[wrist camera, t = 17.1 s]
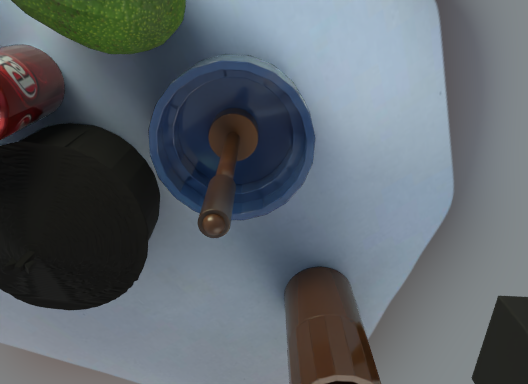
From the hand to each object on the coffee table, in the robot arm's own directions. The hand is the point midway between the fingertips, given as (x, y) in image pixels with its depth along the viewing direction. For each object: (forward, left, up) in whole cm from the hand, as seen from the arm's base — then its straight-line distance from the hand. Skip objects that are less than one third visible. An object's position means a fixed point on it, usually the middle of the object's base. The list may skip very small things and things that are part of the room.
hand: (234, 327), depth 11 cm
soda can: (+23, +1, -37) cm, 43 cm away
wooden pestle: (+2, +5, -36) cm, 36 cm away
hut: (+19, +14, -37) cm, 44 cm away
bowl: (+2, +5, -37) cm, 37 cm away
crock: (-9, +26, -37) cm, 46 cm away
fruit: (+14, -8, -37) cm, 40 cm away
